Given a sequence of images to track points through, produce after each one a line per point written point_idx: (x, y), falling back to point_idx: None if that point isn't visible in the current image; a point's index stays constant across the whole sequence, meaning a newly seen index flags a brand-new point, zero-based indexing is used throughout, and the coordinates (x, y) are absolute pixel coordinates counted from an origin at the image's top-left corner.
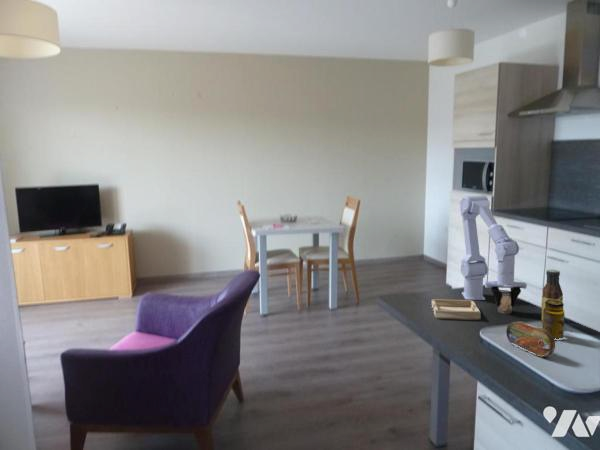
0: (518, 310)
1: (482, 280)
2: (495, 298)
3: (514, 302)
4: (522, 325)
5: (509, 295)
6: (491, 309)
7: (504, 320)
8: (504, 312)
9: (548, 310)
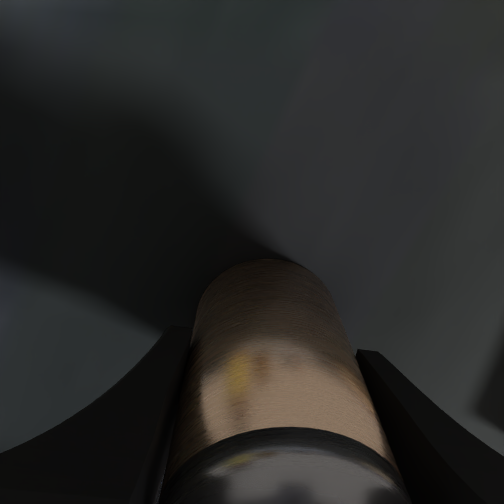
0: (99, 347)
1: None
2: None
3: (156, 352)
4: None
5: (251, 434)
6: None
7: (420, 29)
8: (299, 271)
9: None
